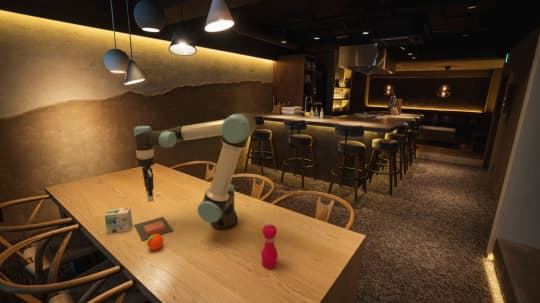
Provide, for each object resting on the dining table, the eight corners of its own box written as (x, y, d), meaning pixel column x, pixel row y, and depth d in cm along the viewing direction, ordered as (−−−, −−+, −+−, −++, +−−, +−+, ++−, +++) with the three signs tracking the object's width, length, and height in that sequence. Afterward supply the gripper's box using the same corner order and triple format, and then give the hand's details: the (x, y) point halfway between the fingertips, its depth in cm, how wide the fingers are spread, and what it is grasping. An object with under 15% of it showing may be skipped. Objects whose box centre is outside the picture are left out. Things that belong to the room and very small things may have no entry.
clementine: (152, 255, 111) (150, 242, 109) (142, 251, 114) (140, 237, 112) (167, 246, 118) (165, 233, 116) (157, 242, 121) (156, 229, 119)
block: (161, 224, 135) (165, 230, 130) (144, 230, 130) (146, 236, 125) (161, 220, 134) (165, 226, 129) (143, 226, 129) (146, 231, 124)
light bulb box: (106, 234, 127) (103, 215, 124) (111, 227, 133) (108, 209, 130) (129, 231, 130) (127, 212, 127) (133, 224, 136) (130, 207, 133)
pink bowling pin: (277, 258, 110) (278, 217, 105) (278, 269, 103) (279, 227, 98) (260, 258, 110) (261, 217, 105) (260, 270, 103) (261, 227, 98)
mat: (173, 231, 130) (173, 230, 130) (142, 241, 121) (141, 240, 121) (163, 217, 144) (163, 216, 144) (134, 225, 135) (134, 224, 135)
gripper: (157, 158, 120) (162, 203, 126) (150, 153, 130) (155, 195, 136) (140, 161, 116) (146, 207, 121) (134, 155, 125) (140, 198, 131)
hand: (150, 201), depth 128 cm, fingers closed
